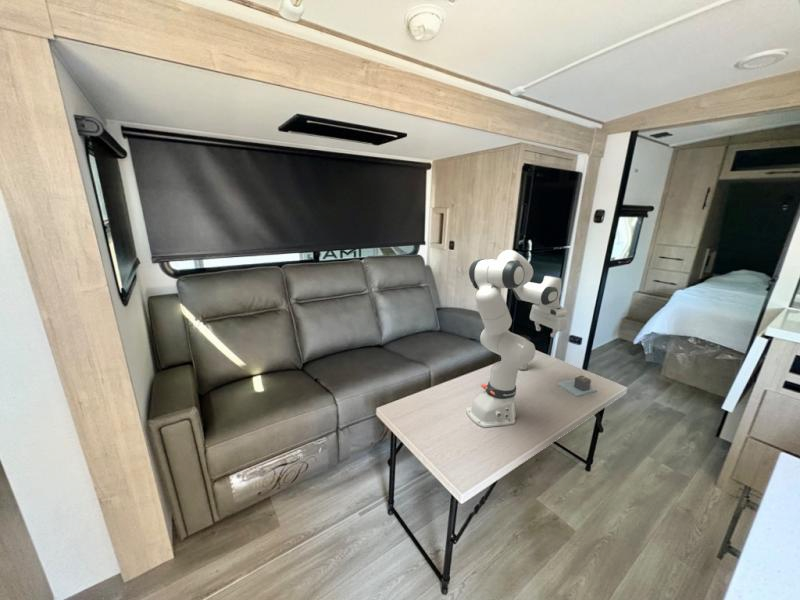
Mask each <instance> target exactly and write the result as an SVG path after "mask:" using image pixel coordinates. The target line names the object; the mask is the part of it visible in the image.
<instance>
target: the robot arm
mask: <svg viewBox="0 0 800 600" xmlns="http://www.w3.org/2000/svg"><path fill="white" fill-rule="evenodd" d="M533 276H534V269H533V266H532V265H531V263H530V262H529V261H528V260H527V258H526V257H524V256H523V255H522V254H520V253H518V251H516V250H514V249H506V250H504V251H502V252H501V253H499V255H498V256H497V257H496V258H495V259H494V258H492V259H490V258H489V259H478V260H475V261H473V262H472V263H471V264H470V266H469V268H468V277H469V280H470V282H471V283H472V286H473V288H474V289H476V290H477V291H476V294H475V300H476V301H475V303H476V306H477V307H476V308H477V310H478V313H479V315H480V318H481V321H482V323H483V327H484V329H483V330H482V331H481V334H480V337H479V339H480V344H482V346H484V348H486V349H487V350H489V351H490V352H492V353H494V354H497V355H499V356H500V358H501V359H500V361H496V362H495V363H493V364H492V366H491V367H490V373H489V381H488V383H487V384H485V383H482V384H481V385H480V386H481V389H482V388H483V391H482V392H481V393H480V394H479V395H477V396H476V397H475V398H474V399H473V401H472V404H471V406H468V407H467V408H466V409H465V410H466V411H465V413H466V415H467V416H468V418H469V419H470V420H471V421H472V422H473V423H475V424H476V425H478V426H479V427H481V428H484V429H485V428H491V427H499V426H500V427H501V426H507V425H508V426H509V425H514V424H515V423H516V417H517V411H516V408H515V406H516V405H515V403H516V402H515V397H516V392H517V385H516V384H517V377H518V373H519V371H520V370H519V368H520V367H521V366H522V365H524V364H527V363H528V364H529V363H531V362H532V361H533V359H534V358H535V356H536V346H535V344H534V343H533V342H530V341H529V340H527V339H526V338H524V337H521V335H519V334H516V333H514V332H511V331H510V328H511V326H512V322H513V319H512V316H511V313H510V311H509V308H508V306H507V303H506V300H505V298H504V296H503V294H502V289H509V290H512V291H513V293H514V297H515V298H516V300H518V301H523V302H529V303H531V304H532V305H531V310H530V313H529V320H530V321H531V322H534V326H535V330H536V331H537V332H540V331H541V329H542V327H541V326H540V325H542V326H545V327H547V328H549V329H552V332H551V333H550V337H551V338H555V337H556V336H557V335H556V334H558V332H564V331H566V330H567V325H568V318H567V315H568V310H567V309H565V308H564V307H563V306H561V305H560V296H561V294H562V278H561V277H560V276H554V275H550V274H549V275H544V277H543V279H542V282H541V283H537V282H533V281H532V282H531V280H532V278H533Z"/></svg>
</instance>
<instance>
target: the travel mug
mask: <svg viewBox="0 0 800 600" xmlns="http://www.w3.org/2000/svg"><path fill="white" fill-rule="evenodd" d="M520 336H521V337H524V338H526V339H527V340H529V341H530V342H531V340H532V338H531V336H529V335H527V334H521V335H520ZM531 343H532V342H531ZM528 366H529V363H527V364H524V365H522V366H521V367H520V368H519V370H518V371H520V372H521V371H523V372H524V371H528Z"/></svg>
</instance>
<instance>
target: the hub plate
mask: <svg viewBox="0 0 800 600" xmlns="http://www.w3.org/2000/svg"><path fill="white" fill-rule="evenodd" d="M574 383H575V378H574V379H570V380H566V381H561V382H558V383H557V384H556V385H557V387H559V388H561V389H563V390H565V391H566V392H568V393H570V394H571V395H573V396H575V397H577V398H579V397H581V396H585V395H588V394H592V393H595V392H598V389H597V388H595V387H592V385H590V389H588V390H585V391H581V390H579V389H577V388H576V387H574Z"/></svg>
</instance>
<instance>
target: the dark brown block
mask: <svg viewBox="0 0 800 600" xmlns="http://www.w3.org/2000/svg"><path fill="white" fill-rule="evenodd" d="M574 379H575V383H574V387H576V388H577V389H579V390H581V391H585V390H588V389H590V386H591V382H592V380H591V379H590V378H588V376H585V375H583V374H582V375H578V376H576V377H574Z"/></svg>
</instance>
